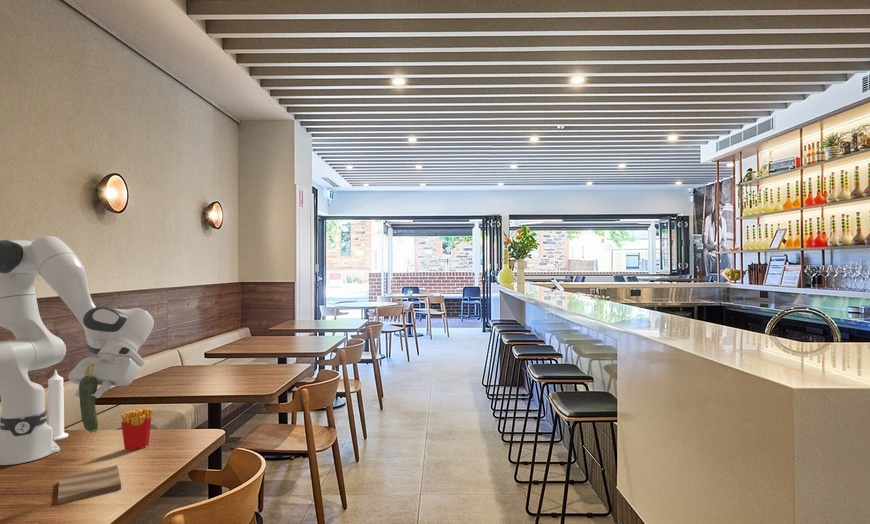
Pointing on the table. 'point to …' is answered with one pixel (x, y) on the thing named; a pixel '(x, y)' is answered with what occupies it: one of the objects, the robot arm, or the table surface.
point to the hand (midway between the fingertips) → (86, 396)
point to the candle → (56, 406)
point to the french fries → (136, 428)
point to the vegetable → (88, 399)
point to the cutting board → (88, 484)
